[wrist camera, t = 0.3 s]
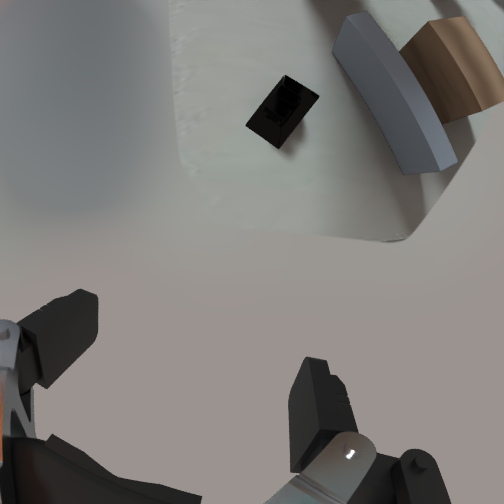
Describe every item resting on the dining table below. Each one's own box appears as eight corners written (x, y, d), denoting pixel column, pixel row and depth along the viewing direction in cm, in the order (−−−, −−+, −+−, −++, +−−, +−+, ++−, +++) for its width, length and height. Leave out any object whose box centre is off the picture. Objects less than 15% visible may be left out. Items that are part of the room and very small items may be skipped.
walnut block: (428, 47, 30) (464, 16, 18) (466, 112, 31) (512, 96, 20) (393, 57, 31) (427, 21, 19) (434, 126, 33) (482, 110, 21)
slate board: (348, 45, 31) (366, 10, 22) (419, 166, 34) (458, 161, 24) (331, 51, 32) (346, 15, 22) (403, 174, 35) (440, 171, 25)
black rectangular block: (276, 162, 36) (276, 158, 32) (231, 131, 36) (225, 124, 31) (329, 93, 34) (335, 82, 29) (284, 65, 33) (286, 50, 29)
